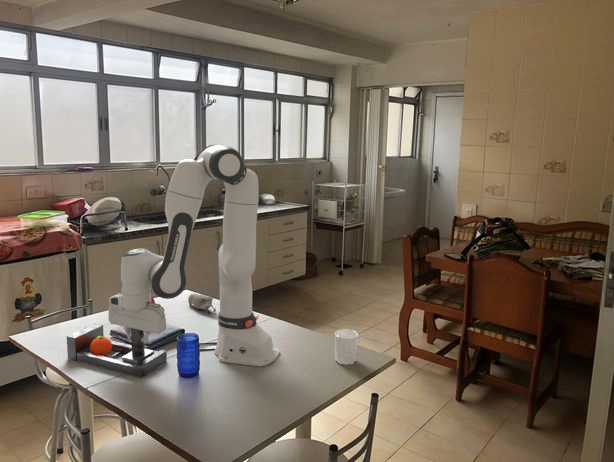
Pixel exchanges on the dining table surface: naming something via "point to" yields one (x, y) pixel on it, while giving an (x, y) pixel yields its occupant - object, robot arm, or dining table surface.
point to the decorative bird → (201, 302)
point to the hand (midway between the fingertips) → (137, 340)
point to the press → (81, 352)
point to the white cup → (345, 346)
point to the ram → (137, 348)
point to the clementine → (101, 346)
